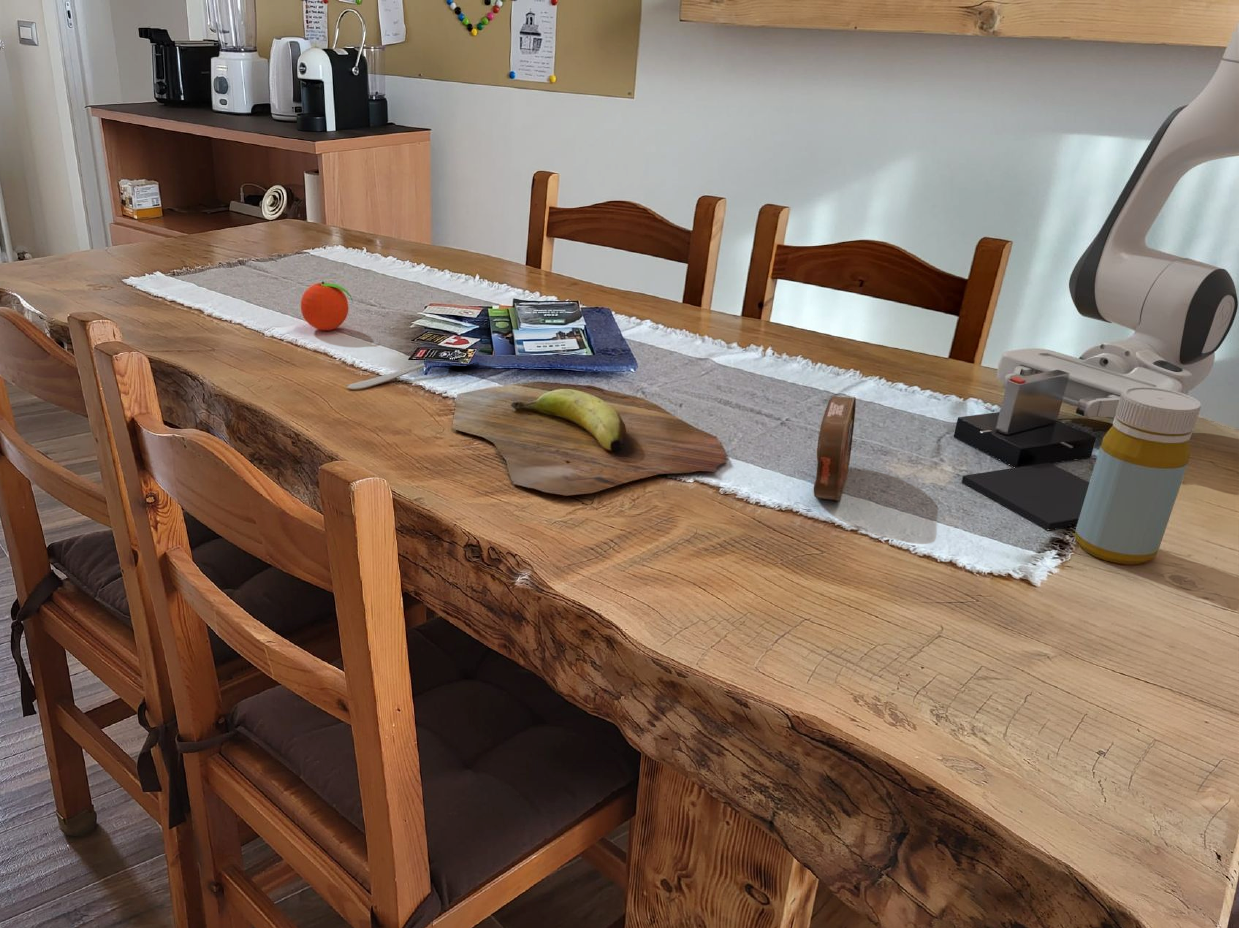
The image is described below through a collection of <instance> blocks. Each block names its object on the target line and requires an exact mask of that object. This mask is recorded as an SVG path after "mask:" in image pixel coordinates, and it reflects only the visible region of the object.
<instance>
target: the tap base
mask: <svg viewBox="0 0 1239 928" xmlns="http://www.w3.org/2000/svg"><path fill="white" fill-rule="evenodd" d="M983 409H984V410H987V411H989V412H990V413H982V414H980V413H979V414H973V415H966V416H958V417H957V420H956V425H955V427H954V433H953V438H954V439H957V440H959V441H960V442H963V443H965V442H966V443H965V444H967V443H968V444H967V445H969V446H971V445H972V446H973V447H972V446H971V447H972V448H974V447H975V449H976V448H978V449H979V450H978V449H977V450H978V451H980V450H981V451H980V452H982V451H984V452H985V453H984V452H983V453H984V454H986V453H988V454H989V455H988V454H987V455H988V456H990V455H991V456H990V457H992V456H994V457H995V458H994V457H993V458H994V459H996V458H997V459H996V460H998V459H1000V460H1001V461H1000V460H999V461H1000V462H1002V461H1004V462H1006V463H1007V464H1006V463H1005V464H1006V465H1008V464H1010V465H1012V466H1013V467H1015V468H1017V467H1023V466H1030V465H1037V464H1043V463H1051V464H1057V463H1056V462H1059V463H1063V462H1062V461H1066V462H1072V461H1076V460H1075V459H1079V460H1085V459H1090V457H1091V458H1092V455H1093V453H1094V448H1095V445H1096V442H1097V437H1096V436H1094V435H1092V434H1090V433H1087V432H1085V431H1082V430H1080V429H1079V428H1077V427H1074V426H1071V425H1069V424H1067V423H1071V422H1072V419H1061V420H1058V419H1057V422H1056V423H1052V424H1048V425H1044V426H1040V427H1036V428H1033V429H1029V430H1025V431H1021V432H1017V433H1013V434H1009V435H1006V434H1003V433H1000V432H998V431H996V430H995V429H996V425H997V421H998V417H999V413H1000V411H997V412H995V409H992V408H990V407H988V406H983ZM1071 460H1072V461H1071ZM1004 462H1003V463H1004ZM1013 467H1012V468H1013Z"/></svg>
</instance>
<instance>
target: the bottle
mask: <svg viewBox="0 0 1239 928" xmlns="http://www.w3.org/2000/svg"><path fill="white" fill-rule="evenodd" d="M1201 406H1202V403H1201V402H1200V401H1199V400H1198V399H1196V398H1195V397H1193V396H1191V395H1189V394H1188V395H1186V394H1183V393H1180V392H1176V391H1172V390H1168V389H1162V388H1156V387H1142V386H1139V387H1129V388H1126V389H1124V390H1123V392H1122V393H1121V396H1120V400H1119V403H1118V407H1117V410H1116V416H1115V417H1114V419H1113V421H1112V426H1111V427H1110V428H1109V430H1108V431H1107V432H1106V433H1105V434H1104V435H1103V437H1102V439H1101V443H1100V446H1099V449H1098V453H1097V457H1096V460H1095V463H1094V466H1093V469H1092V474H1091V476H1090V480H1089V482H1090V483H1089V486H1088V490H1087V493H1086V496H1085V500H1084V503H1083V507H1082V510H1081V513H1080V517H1079V520H1078V523H1077V525H1076V526H1075V532H1074V539H1075V541H1076V542H1077V543H1078V545H1079V547H1080V549H1082V550H1083V551H1084V552H1085V553H1087V554H1089V555H1091V556H1092V557H1095V558H1098V559H1099V560H1100V559H1101V560H1103V561H1105V562H1110V563H1114V564H1119V565H1126V566H1127V565H1140V564H1144V563H1147V562H1149V561H1150V560H1152V559H1154V558H1155V557H1157V555H1158V552H1159V550H1160V547H1161V544H1162V541H1163V538H1164V535H1165V532H1166V530H1167V526H1168V524H1169V520H1170V518H1171V515H1172V512H1173V508H1174V506H1175V503H1176V500H1177V497H1178V494H1179V491H1180V488H1181V485H1182V482H1183V480H1184V477H1185V473H1186V470H1187V467H1188V465H1189V460H1190V458H1191V452H1190V451H1191V450H1190V449H1191V448H1190V439H1191V437H1192V434H1193V430H1194V428H1195V426H1196V423H1197V420H1198V417H1199V414H1200V412H1201V408H1202V407H1201Z"/></svg>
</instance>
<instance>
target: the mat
mask: <svg viewBox="0 0 1239 928" xmlns="http://www.w3.org/2000/svg"><path fill="white" fill-rule="evenodd" d="M961 483H962V484H964V483H965V484H964V485H966V486H968V487H969V486H970V487H969V488H971V487H972V488H971V489H973V490H975V491H977V492H978V491H979V492H978V493H980V492H981V493H980V494H982V495H984V494H985V495H986V497H987V496H988V497H987V498H989V497H990V498H989V499H991V500H992V501H994V500H995V501H994V502H997V503H998V504H1000V505H1001V506H1003V505H1004V507H1005V508H1007V507H1008V508H1007V509H1008V510H1010V511H1012V510H1013V511H1012V512H1013V513H1016V514H1018V515H1019V516H1021V517H1023V518H1024V519H1027V520H1028V519H1029V520H1028V521H1030V522H1032V523H1034V524H1035V525H1037V524H1038V525H1037V526H1039V527H1041V526H1042V527H1041V528H1043V529H1044V528H1045V530H1046V529H1049V530H1048V531H1051V530H1050V529H1053V530H1056V529H1055V528H1059V529H1062V528H1061V527H1065V526H1069V525H1072V524H1077V523H1078V520H1079V517H1080V513H1081V510H1082V507H1083V503H1084V500H1085V496H1086V493H1087V490H1088V486H1089V483H1090V481H1087V480H1086V479H1084V478H1081V477H1079V476H1078V475H1076V474H1074V473H1071V472H1069V471H1068V470H1065V469H1064V468H1061V467H1059V466H1057V465H1055V464H1054V463H1052V464H1051V463H1043V464H1037V465H1030V466H1023V467H1017V468H1013V467H1012V468H1004V469H998V470H991V471H985V472H984V471H983V472H978V473H969V474H965V475H964V474H963V475H962V478H961ZM985 495H984V496H985ZM1065 528H1066V527H1065Z"/></svg>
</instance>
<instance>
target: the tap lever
mask: <svg viewBox="0 0 1239 928" xmlns="http://www.w3.org/2000/svg"><path fill="white" fill-rule="evenodd" d="M1069 375H1070V373H1067V372H1064V371H1061V370H1053V371H1049V372H1044V373H1039V374H1035V375H1030V376H1026V377H1021V378H1017V377H1014V378H1010V380H1008V381H1007V385H1006V389H1004V393H1003V397H1002V401H1001V405H1000V410H999V412H1000V413H999V417H998V421H997V425H996V429H995V430H996V431H998V432H1000V433H1003V434H1006V435H1009V434H1013V433H1017V432H1021V431H1025V430H1029V429H1033V428H1036V427H1040V426H1044V425H1048V424H1052V423H1056V422H1057V420H1058V418H1059V415H1060V411H1061V407H1062V403H1063V402H1062V401H1063V397H1064V393H1065V390H1066V386H1067V382H1068V379H1069Z"/></svg>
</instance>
